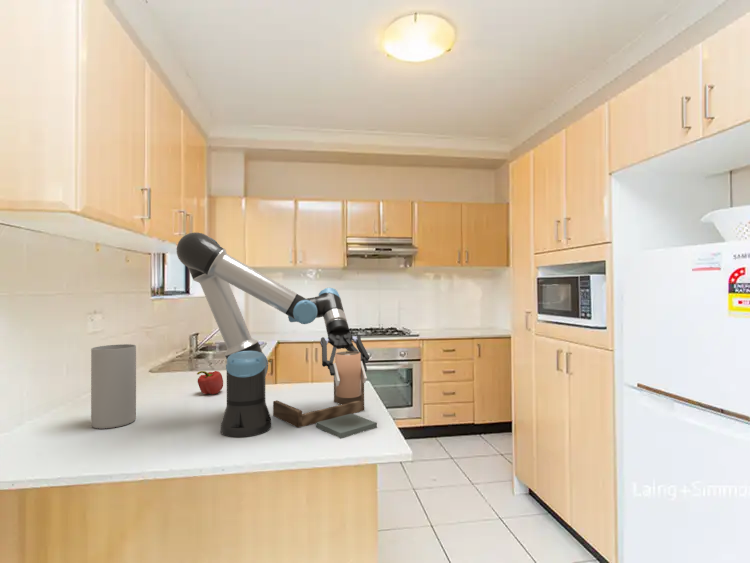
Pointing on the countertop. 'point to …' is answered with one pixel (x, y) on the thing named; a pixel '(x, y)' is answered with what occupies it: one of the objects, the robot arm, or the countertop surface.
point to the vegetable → (210, 382)
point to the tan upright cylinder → (348, 374)
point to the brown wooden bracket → (300, 420)
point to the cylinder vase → (113, 385)
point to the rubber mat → (346, 425)
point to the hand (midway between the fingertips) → (351, 381)
